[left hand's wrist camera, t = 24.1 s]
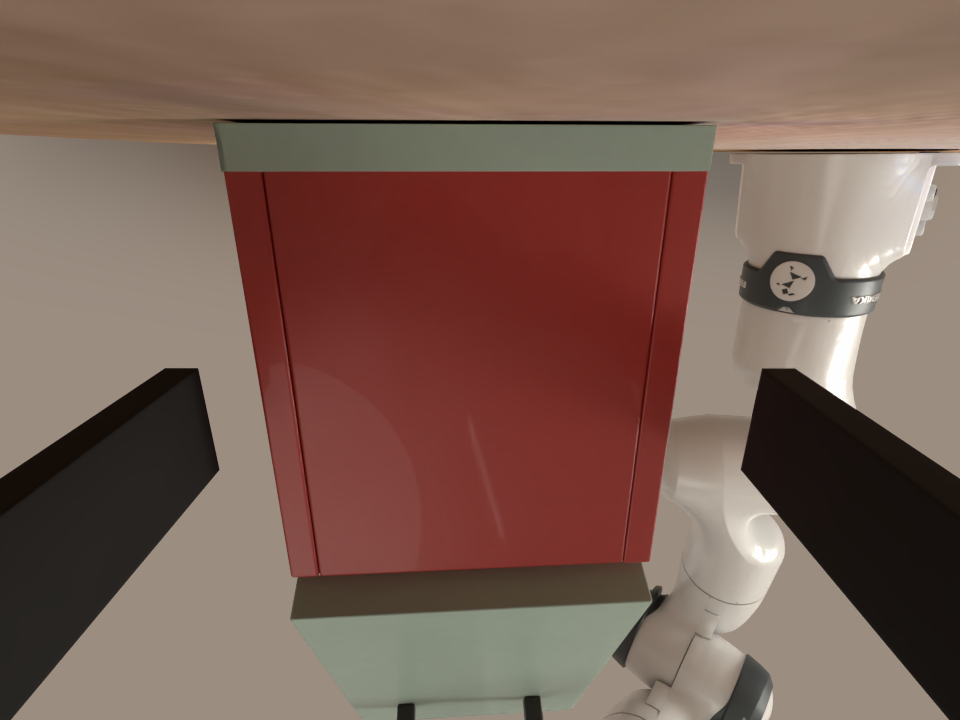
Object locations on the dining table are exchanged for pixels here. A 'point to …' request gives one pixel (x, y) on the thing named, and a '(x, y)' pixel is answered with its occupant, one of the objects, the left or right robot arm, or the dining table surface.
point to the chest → (466, 334)
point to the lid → (469, 636)
